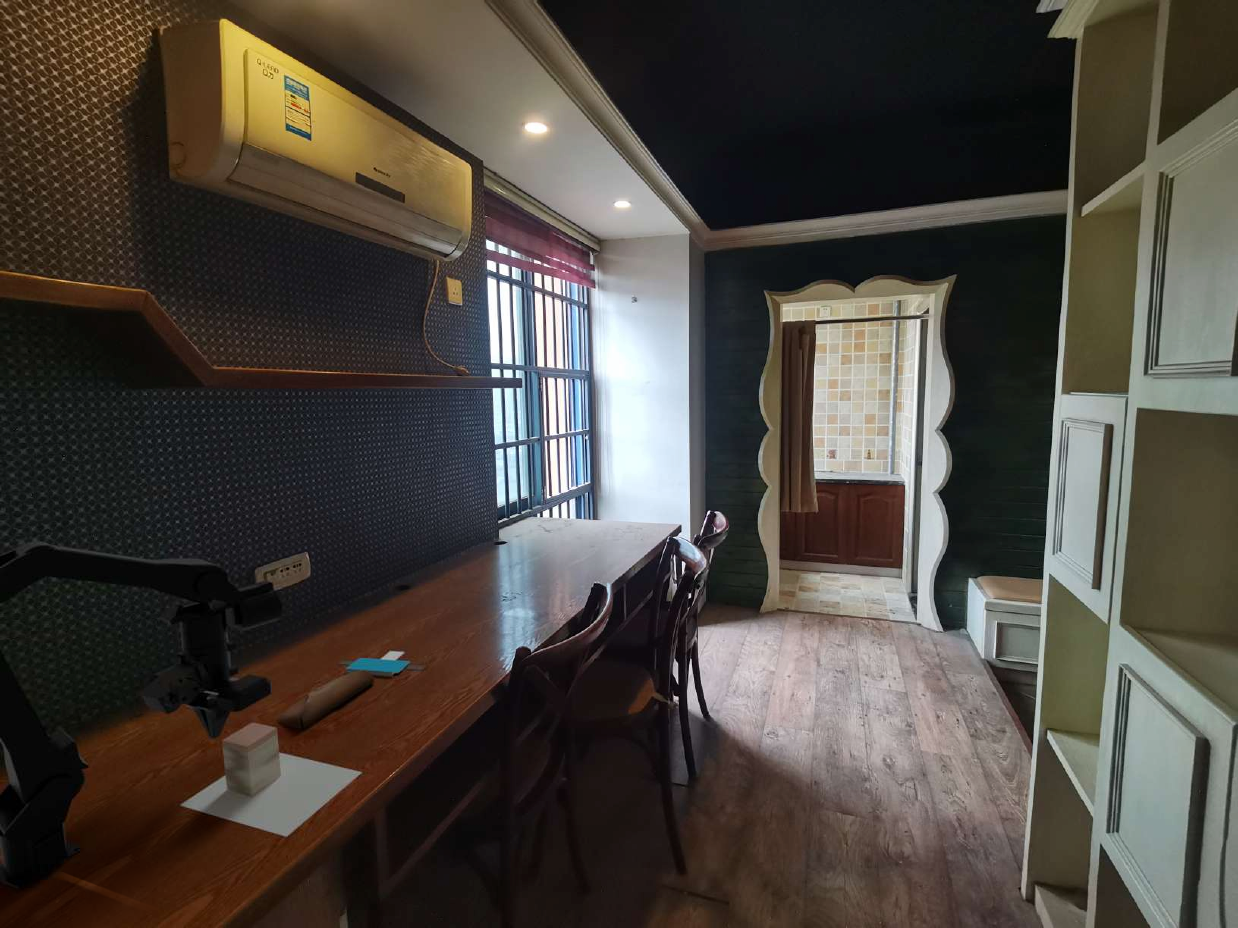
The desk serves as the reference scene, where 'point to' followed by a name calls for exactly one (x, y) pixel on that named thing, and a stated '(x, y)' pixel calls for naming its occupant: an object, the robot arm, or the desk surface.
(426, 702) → the desk surface
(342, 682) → the sunglasses case
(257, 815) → the grey mat
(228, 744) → the birch block
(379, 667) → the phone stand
